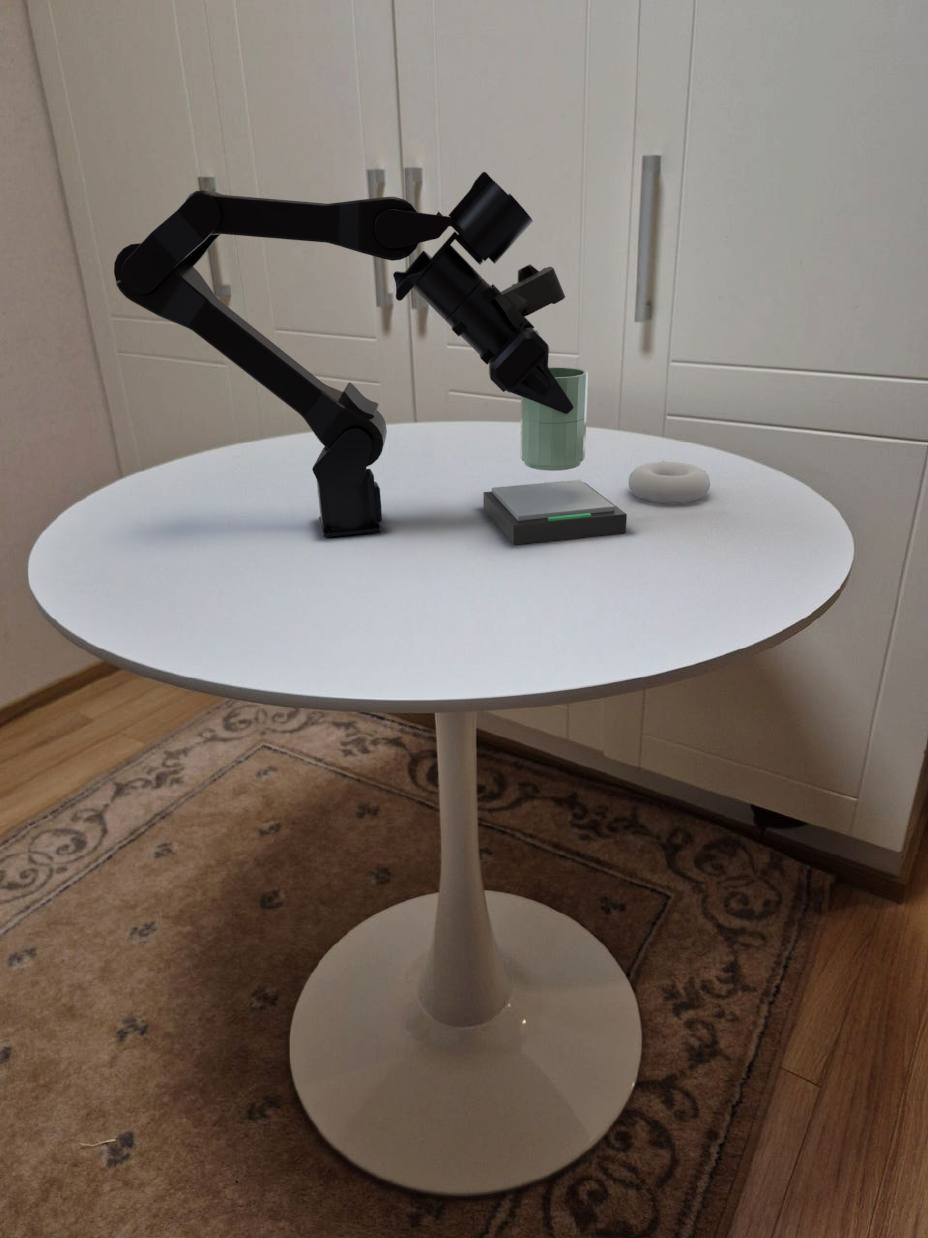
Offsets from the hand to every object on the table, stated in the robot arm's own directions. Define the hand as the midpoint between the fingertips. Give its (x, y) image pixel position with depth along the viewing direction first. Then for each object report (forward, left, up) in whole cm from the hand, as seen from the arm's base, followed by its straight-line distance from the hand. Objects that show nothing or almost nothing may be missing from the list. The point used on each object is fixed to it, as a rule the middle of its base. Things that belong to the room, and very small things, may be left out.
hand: (566, 403), depth 94 cm
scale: (-1, 0, -13) cm, 13 cm away
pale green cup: (-1, 0, -7) cm, 7 cm away
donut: (+16, +5, -14) cm, 21 cm away
